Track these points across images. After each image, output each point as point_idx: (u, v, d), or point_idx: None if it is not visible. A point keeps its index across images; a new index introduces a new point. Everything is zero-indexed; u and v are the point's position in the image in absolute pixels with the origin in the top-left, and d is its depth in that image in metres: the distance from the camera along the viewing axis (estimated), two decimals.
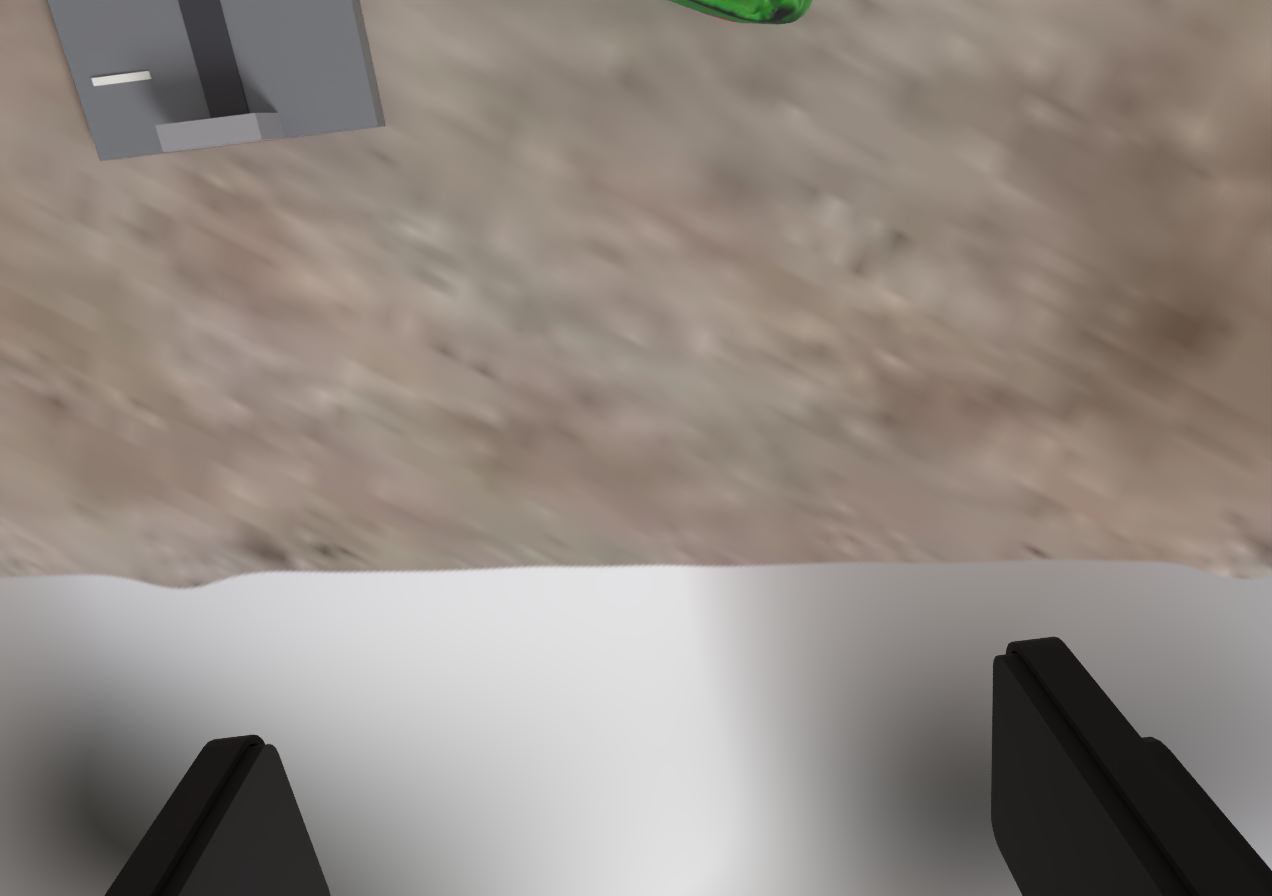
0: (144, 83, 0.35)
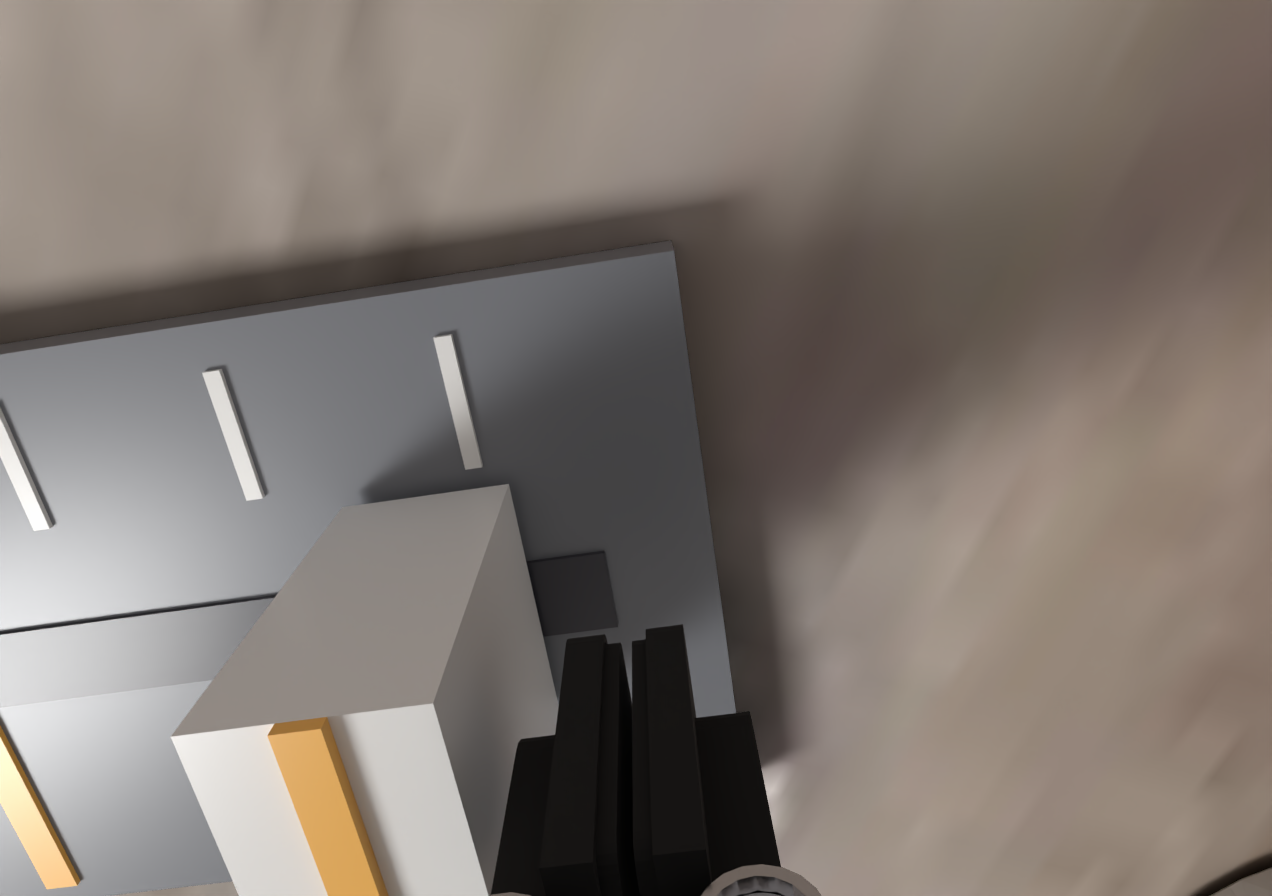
0: None
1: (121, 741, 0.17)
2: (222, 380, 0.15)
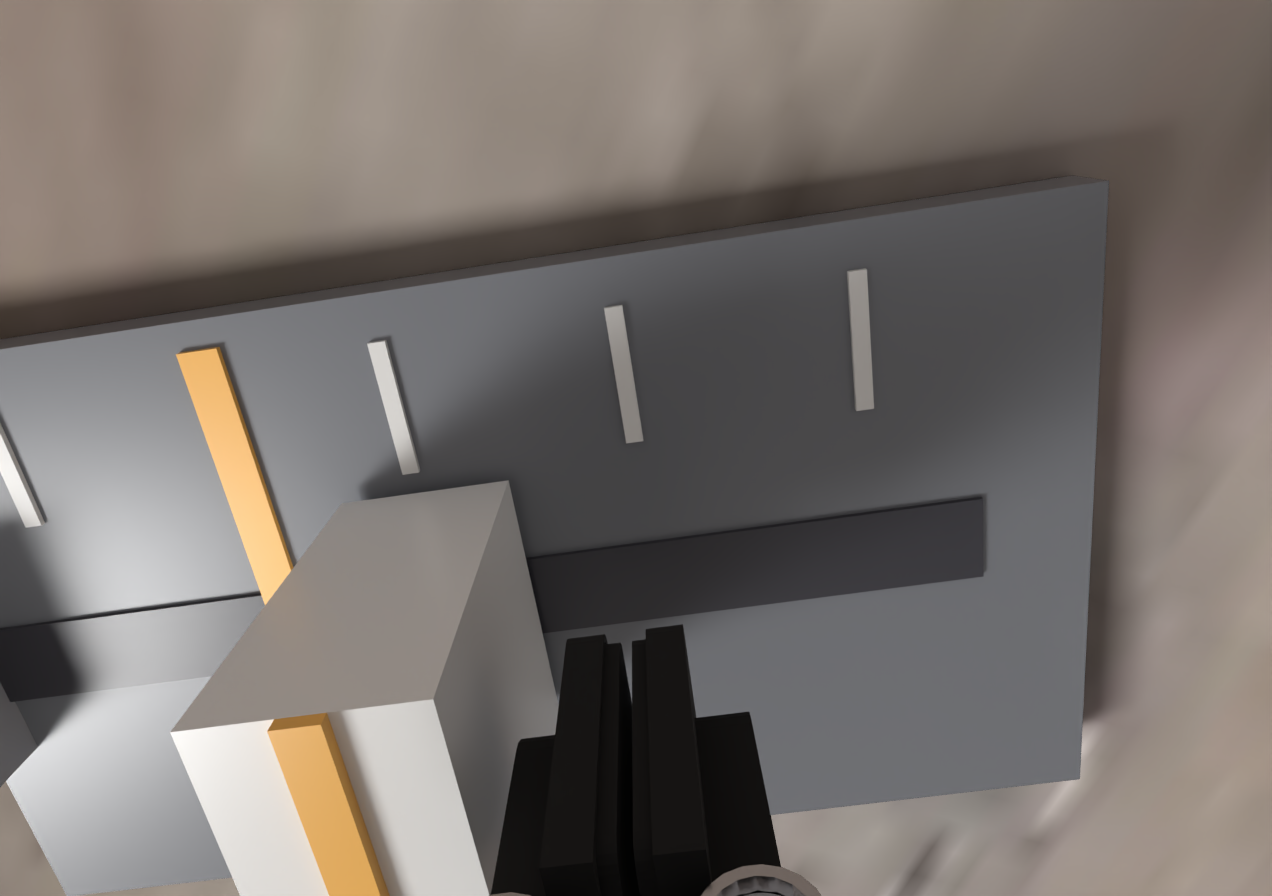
0: (15, 509, 0.15)
1: None
2: (623, 316, 0.14)
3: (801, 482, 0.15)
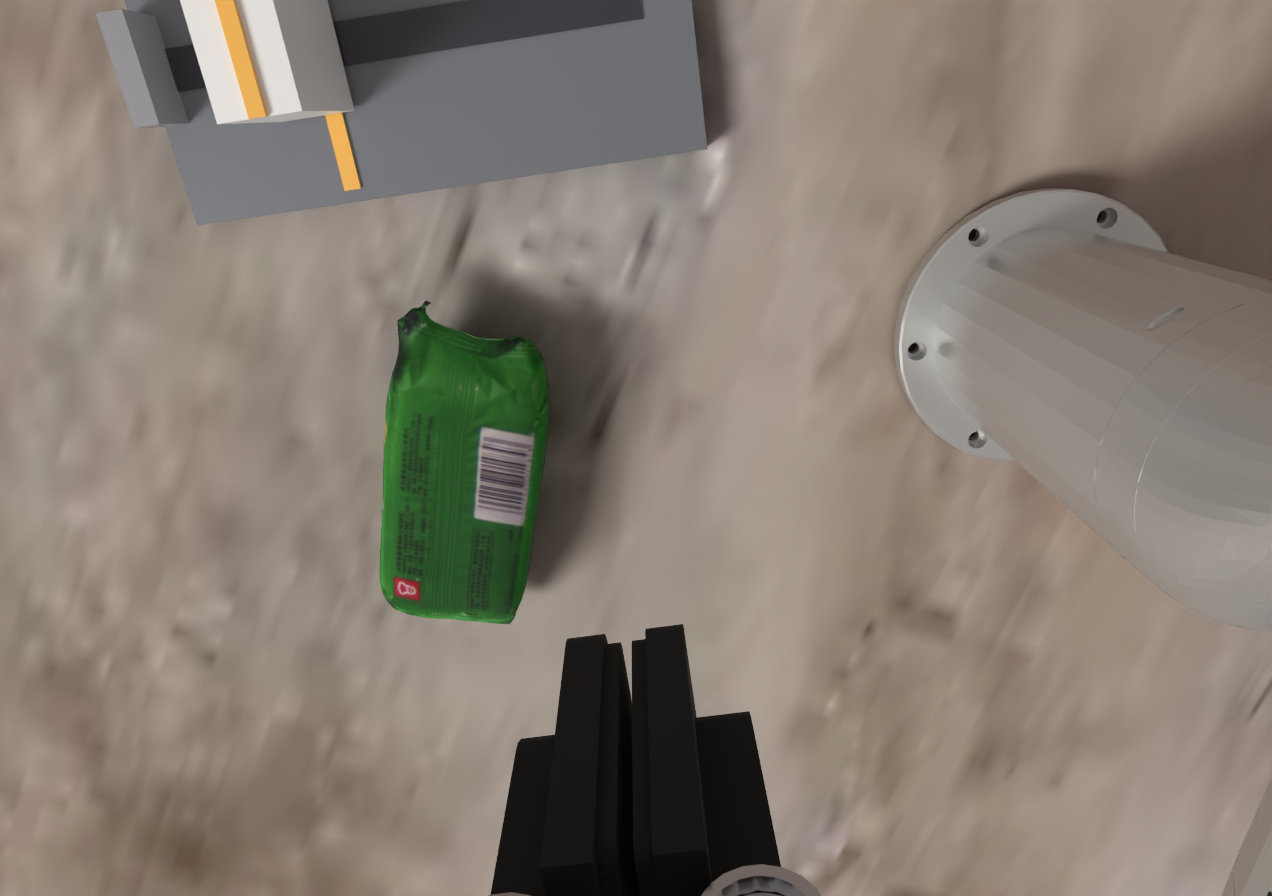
0: None
1: (394, 92, 0.35)
2: None
3: None
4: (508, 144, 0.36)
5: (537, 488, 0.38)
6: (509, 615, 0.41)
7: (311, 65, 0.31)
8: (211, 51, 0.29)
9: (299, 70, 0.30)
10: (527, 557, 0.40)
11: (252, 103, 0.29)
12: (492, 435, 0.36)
